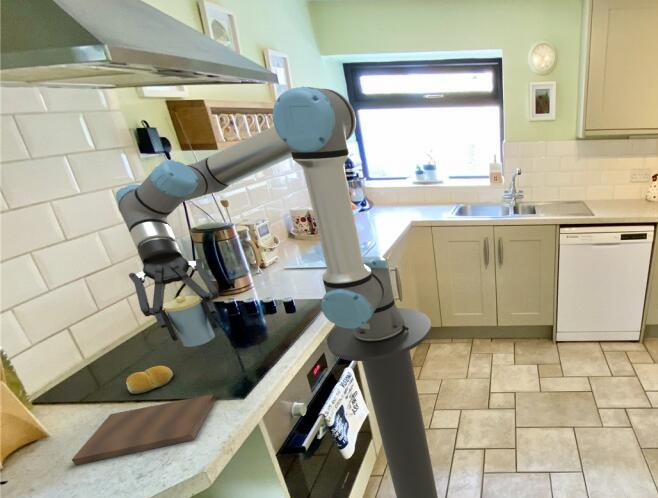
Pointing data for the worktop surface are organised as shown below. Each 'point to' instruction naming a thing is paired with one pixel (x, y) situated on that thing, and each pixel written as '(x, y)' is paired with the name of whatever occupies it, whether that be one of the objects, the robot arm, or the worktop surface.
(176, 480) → the worktop surface
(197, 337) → the butter crock
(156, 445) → the board
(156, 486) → the worktop surface
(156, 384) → the bread roll
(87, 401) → the worktop surface
